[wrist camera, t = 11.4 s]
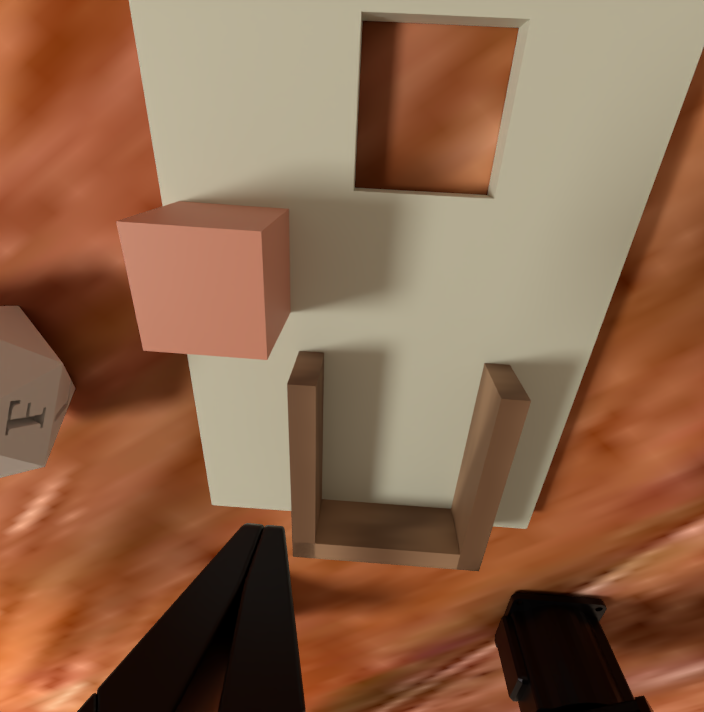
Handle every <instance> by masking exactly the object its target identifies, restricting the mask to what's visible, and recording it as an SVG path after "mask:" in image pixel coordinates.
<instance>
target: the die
mask: <svg viewBox="0 0 704 712" xmlns="http://www.w3.org/2000/svg"><path fill="white" fill-rule="evenodd" d="M74 391H75V387H74V385H73V383H72V381H71V379H70V377H69V375H68V373H67V371H66V369H65V367H64V365H63V363H62V362H61V360H60V359H59V358H58V356H57V355H56V354H55V352H54V351H53V350H52V349H51V347H50V346H49V345H48V343H47V342H46V341H45V339H44V338H43V337H42V336H41V334H40V333H39V332H38V330H37V329H36V328H35V326H34V325H33V324H32V323H31V321H30V320H29V319H28V317H27V316H26V315H25V313H24V312H23V311H22V310H21V308H20V307H19V306H0V478H1V477H5V476H9V475H13V474H17V473H21V472H25V471H29V470H33V469H37V468H41V467H45V465H46V462H47V460H48V457H49V455H50V452H51V450H52V447H53V445H54V442H55V439H56V437H57V434H58V432H59V429H60V427H61V424H62V422H63V419H64V416H65V414H66V411H67V409H68V406H69V404H70V401H71V398H72V396H73V393H74Z"/></svg>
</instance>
